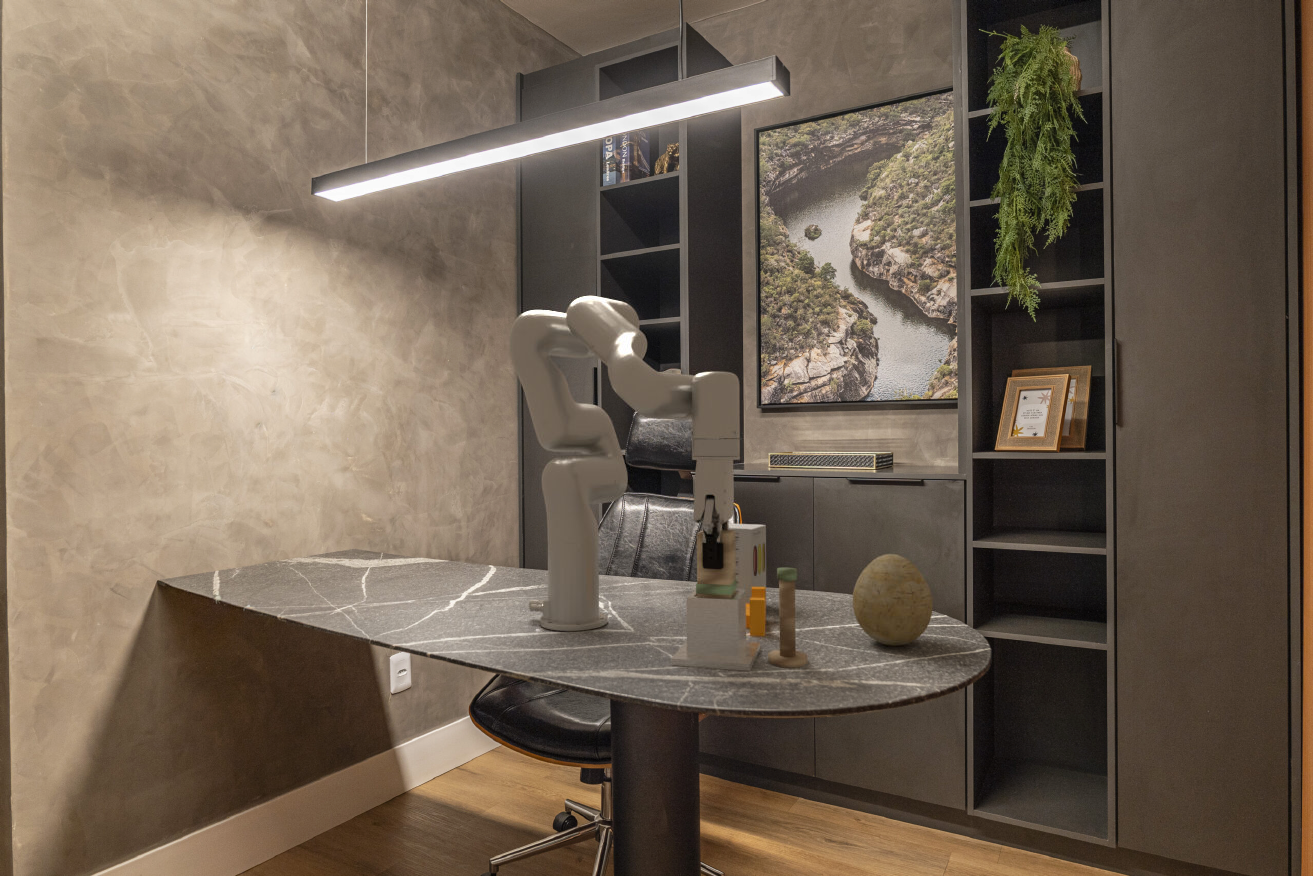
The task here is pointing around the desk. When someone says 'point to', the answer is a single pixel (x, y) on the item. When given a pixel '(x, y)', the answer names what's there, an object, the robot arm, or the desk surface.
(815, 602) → the desk surface
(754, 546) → the supplement box
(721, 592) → the column
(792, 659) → the marker post
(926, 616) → the fossilized egg
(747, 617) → the pipe clamp
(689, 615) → the sleeve
